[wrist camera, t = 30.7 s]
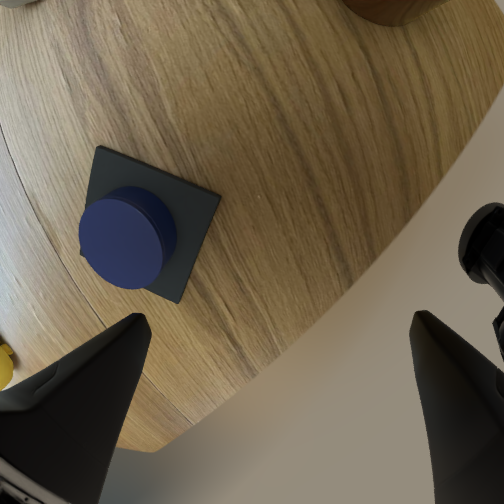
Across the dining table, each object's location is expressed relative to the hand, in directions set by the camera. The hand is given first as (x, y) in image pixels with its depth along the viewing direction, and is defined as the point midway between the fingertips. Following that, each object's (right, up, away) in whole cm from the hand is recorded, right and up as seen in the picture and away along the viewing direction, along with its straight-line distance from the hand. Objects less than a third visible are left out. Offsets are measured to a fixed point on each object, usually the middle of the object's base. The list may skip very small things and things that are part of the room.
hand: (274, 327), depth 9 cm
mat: (-9, +4, +12) cm, 16 cm away
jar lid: (-10, +3, +10) cm, 14 cm away
